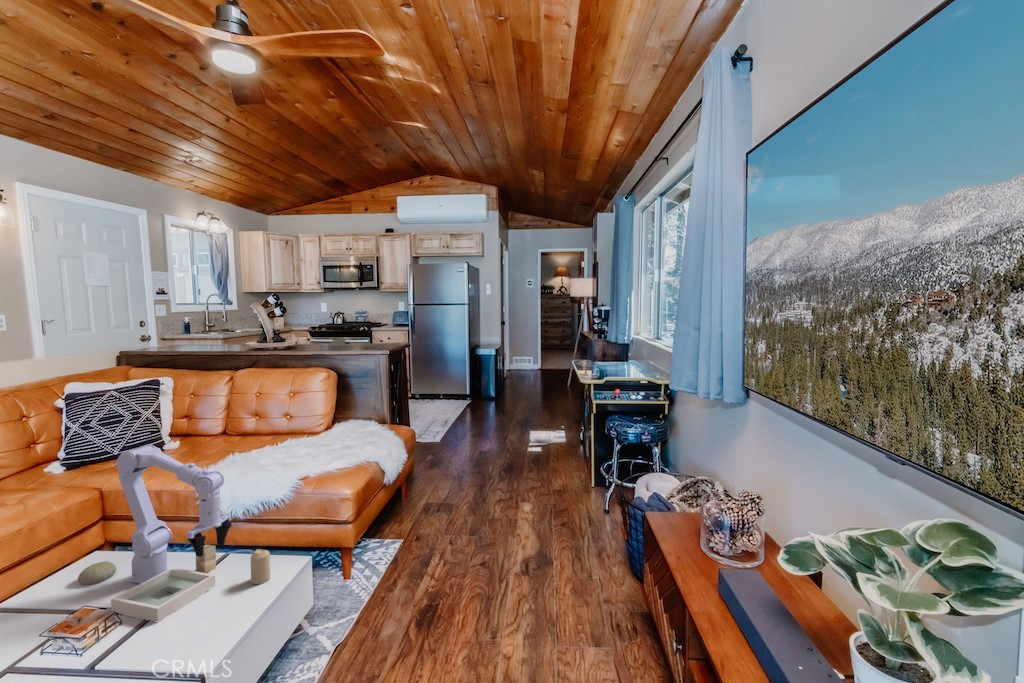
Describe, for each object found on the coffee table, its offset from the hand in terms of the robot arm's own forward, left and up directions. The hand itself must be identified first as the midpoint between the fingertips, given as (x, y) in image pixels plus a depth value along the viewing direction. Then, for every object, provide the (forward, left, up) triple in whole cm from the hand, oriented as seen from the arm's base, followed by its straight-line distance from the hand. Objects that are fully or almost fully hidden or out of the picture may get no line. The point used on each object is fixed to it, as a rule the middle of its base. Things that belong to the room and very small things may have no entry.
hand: (210, 550), depth 148 cm
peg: (-6, +3, -10) cm, 12 cm away
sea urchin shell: (-37, -10, -10) cm, 40 cm away
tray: (-3, -13, -10) cm, 16 cm away
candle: (+17, +3, -10) cm, 20 cm away
